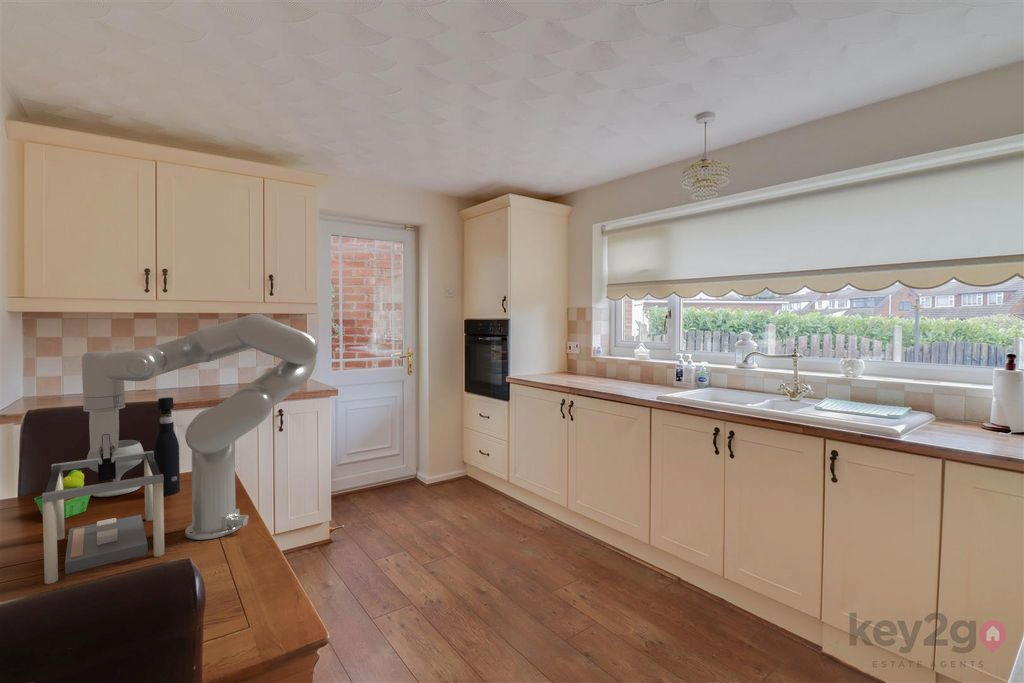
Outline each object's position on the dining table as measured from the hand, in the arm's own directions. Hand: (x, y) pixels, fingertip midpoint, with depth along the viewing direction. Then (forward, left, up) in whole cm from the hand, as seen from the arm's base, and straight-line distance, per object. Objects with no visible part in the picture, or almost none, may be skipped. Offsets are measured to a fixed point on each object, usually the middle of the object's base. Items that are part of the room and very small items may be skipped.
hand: (107, 479), depth 114 cm
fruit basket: (+30, -18, -17) cm, 39 cm away
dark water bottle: (+14, -35, -17) cm, 41 cm away
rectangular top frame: (0, 0, +1) cm, 1 cm away
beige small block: (+3, -3, -14) cm, 14 cm away
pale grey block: (-3, +3, -14) cm, 14 cm away
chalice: (+31, -35, -17) cm, 50 cm away
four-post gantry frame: (0, 0, -16) cm, 16 cm away
